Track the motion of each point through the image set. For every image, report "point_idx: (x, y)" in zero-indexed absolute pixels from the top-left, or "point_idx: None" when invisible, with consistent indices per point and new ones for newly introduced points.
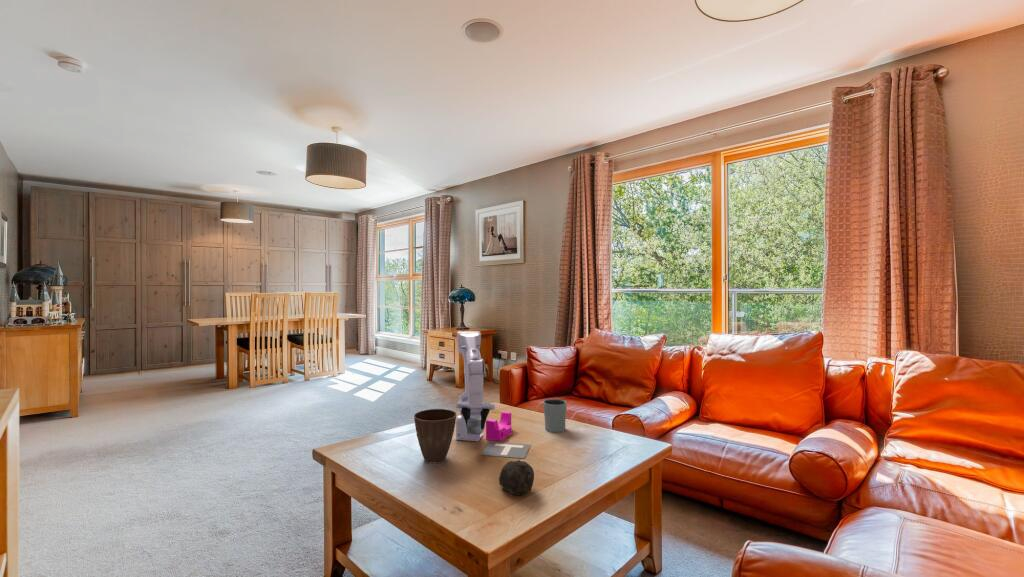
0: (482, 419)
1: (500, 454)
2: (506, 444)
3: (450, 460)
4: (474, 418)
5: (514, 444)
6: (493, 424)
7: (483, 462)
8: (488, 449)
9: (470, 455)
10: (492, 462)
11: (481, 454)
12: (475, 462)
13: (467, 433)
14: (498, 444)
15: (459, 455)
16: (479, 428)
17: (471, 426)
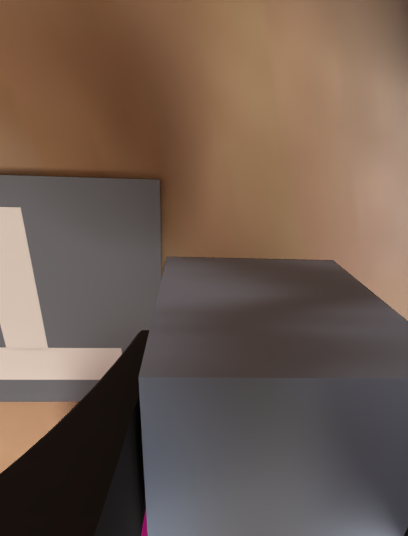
0: (84, 447)
1: (19, 207)
2: (54, 377)
3: (382, 13)
4: (315, 502)
5: (5, 385)
6: (146, 533)
7: (93, 19)
8: (138, 282)
9: (238, 160)
10: (19, 35)
11: (158, 181)
12: (161, 5)
13: (331, 261)
14: (102, 368)
15: (321, 144)
16: (170, 293)
17: (313, 305)
